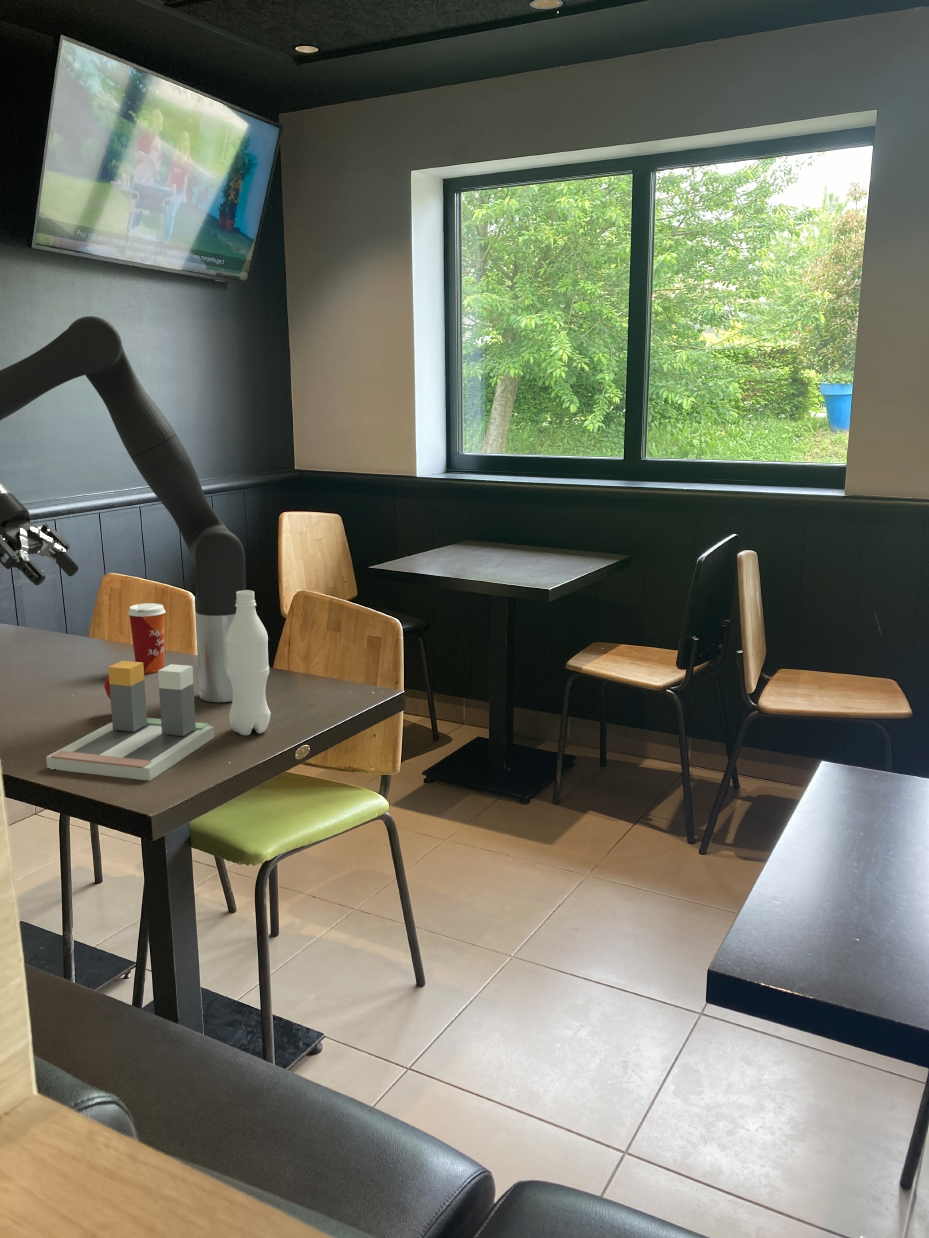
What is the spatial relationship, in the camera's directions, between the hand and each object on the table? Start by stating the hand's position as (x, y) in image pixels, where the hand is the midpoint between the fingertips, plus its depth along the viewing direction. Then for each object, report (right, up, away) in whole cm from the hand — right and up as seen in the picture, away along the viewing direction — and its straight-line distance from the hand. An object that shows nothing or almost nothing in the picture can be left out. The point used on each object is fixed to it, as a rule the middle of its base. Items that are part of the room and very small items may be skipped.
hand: (58, 577), depth 156 cm
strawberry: (+5, -25, +17) cm, 30 cm away
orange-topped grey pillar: (+11, -25, +3) cm, 28 cm away
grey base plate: (+14, -29, -2) cm, 32 cm away
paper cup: (0, -18, +46) cm, 49 cm away
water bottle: (+30, -27, +9) cm, 41 cm away
